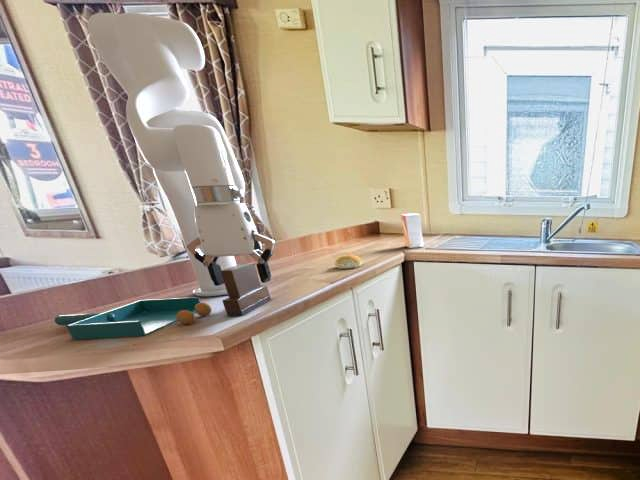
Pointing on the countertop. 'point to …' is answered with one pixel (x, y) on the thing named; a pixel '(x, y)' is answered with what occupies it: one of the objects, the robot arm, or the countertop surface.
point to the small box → (412, 230)
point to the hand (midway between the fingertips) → (243, 283)
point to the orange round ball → (203, 309)
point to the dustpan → (117, 323)
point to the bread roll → (348, 261)
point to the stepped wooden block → (243, 289)
